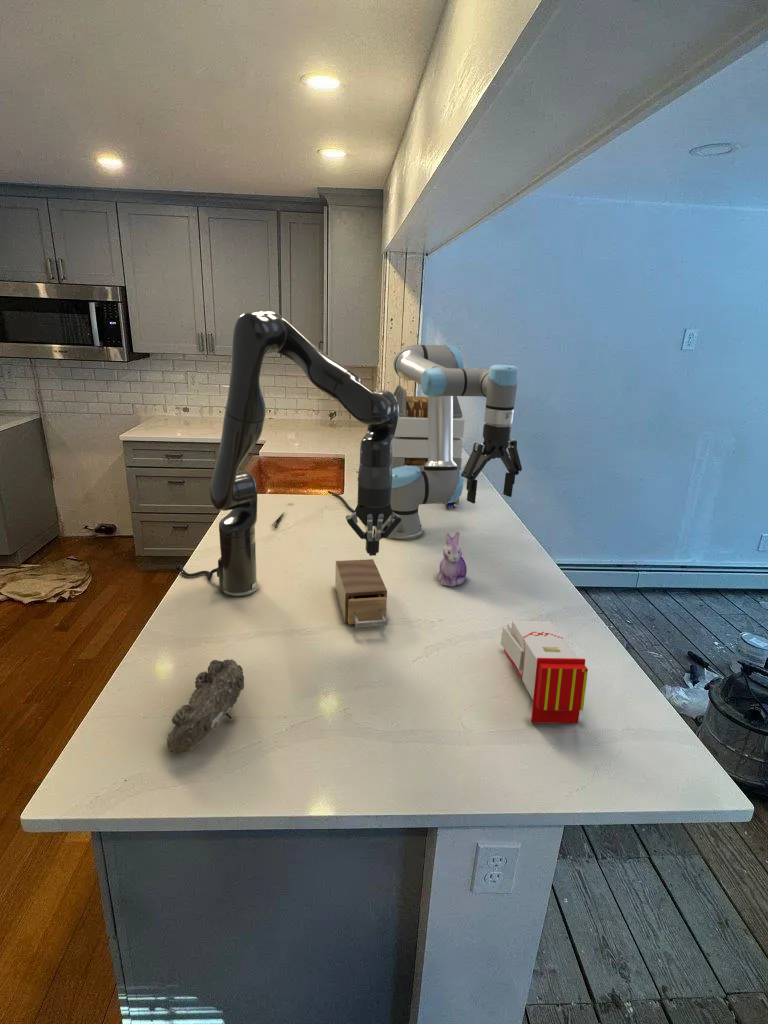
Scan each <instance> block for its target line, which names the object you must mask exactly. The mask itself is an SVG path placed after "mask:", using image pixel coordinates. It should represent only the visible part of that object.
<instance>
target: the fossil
mask: <svg viewBox="0 0 768 1024" xmlns="http://www.w3.org/2000/svg"><path fill="white" fill-rule="evenodd" d="M243 670H244V669H243V667H242V665H240V664H237V662H236V661H235V660H234V659H232V658H231V659H227V658H226V659H224V660H223V661H222V660H217V659H212V660H211V661H210V663H209V665H208V666H207V671H201V672H199V673H198V674H197V675H196V676H195V680H194V684H195V685H194V687H195V689H194V690H193V693H192V694H191V697H190V698H189V700H188V704H184V705H182V706H181V707H180V709H177V710H176V711H175V713H174V715H173V716H172V718H171V723H172V724H173V727H172V730H171V731H170V732H168V734H167V738H166V741H167V742H166V745H167V749H168V750H169V751H173V752H174V753H176V754H178V753H182V752H188V751H189V752H192V751H193V750H195V748H196V747H197V746H199V744H200V743H201V742H203V741H204V740H205V739H206V738H207V737H208V736H209V735H210V734H211V733H212V732H214V730H215V729H217V727H218V726H219V724H220V722H221V721H222V720H223V719H224V718H225V716H226V717H227V719H229V720H233V717H232V715H230V714H229V710H230V709H231V708H234V706H235V704H236V703H237V702H238V699H239V697H240V695H241V693H242V691H243V690H245V689H244V688H245V675H244V671H243Z"/></svg>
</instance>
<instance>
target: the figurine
mask: <svg viewBox="0 0 768 1024" xmlns="http://www.w3.org/2000/svg"><path fill="white" fill-rule="evenodd" d="M444 538H445V546H444V548H443V550H442V554H443V558H442V559H441V561H440V562H439V571H438V572H439V573H438V580H439V582H440V583H441V585H442V586H447V587H455V586H457V585H458V586H460V585H461V584H463V583H464V581H465V580H466V576H467V573H468V572H467V571H468V569H467V563H466V561H465V559H464V557H463V551H462V548H461V546H460V538H461V532H460V531H459V530H458V531H456V532H455V534H454V535H453V537H452V536H451V534H450V533H449V532H448V531H446V532H445V533H444Z"/></svg>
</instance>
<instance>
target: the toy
mask: <svg viewBox="0 0 768 1024" xmlns="http://www.w3.org/2000/svg"><path fill="white" fill-rule="evenodd" d="M500 645H501V646H502V648H503V652H504V654H505V655H506V657H507V658H508V660H509V661H510V663H511V664H512V666H513V668H514V669H515V671H516V672H517V674H518V676H519V677H520V679H521V680H522V683H523V685H524V686H525V688H526V690H527V692H528V694H529V696H530V697H531V699H532V708H531V719H530V722H531V723H532V724H579V719H580V712H583V711H584V706H585V697H586V689H587V680H588V671H589V669H588V667H587V666H586V659H585V658H580V657H579V656H578V655H577V654H576V652H575V651H574V650H573V648H572V647H571V646H570V645H569V644H568V642H567V641H566V640H565V638H564V637H563V636H562V634H561V633H560V632H559V631H558V630H557V628H556V627H555V626H554V624H553V623H552V622H551V621H549V620H548V621H545V620H540V621H539V620H511V622H508V623H507V626H502V632H501V638H500Z"/></svg>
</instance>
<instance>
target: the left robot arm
mask: <svg viewBox="0 0 768 1024" xmlns="http://www.w3.org/2000/svg"><path fill="white" fill-rule="evenodd" d="M231 351H232V352H231V369H230V378H229V385H228V393H227V399H226V404H225V410H224V415H223V422H222V429H221V430H222V431H221V432H222V433H221V437H220V442H219V448H218V453H217V456H216V461H215V465H214V468H213V472H212V476H211V479H210V484H209V497H210V498H209V499H210V502H211V505H212V506H213V507H214V508H215V510H218V511H222V512H223V511H224V512H225V511H229V513H228V514H227V515H226V516H223V518H221V519H220V520H219V523H218V531H219V547H220V548H219V549H220V557H219V558H218V559H217V567H216V568H213V569H211V570H210V571H209V570H201V571H196V572H193V573H192V572H191V573H189V572H186V571H185V569H184V567H183V565H177V566H176V568H175V569H176V570H177V571H178V570H180V573H181V574H182V575H183V576H184V577H188V578H193V577H197V576H200V575H201V576H202V575H207V576H206V577H207V579H208V580H210V579H212V578H213V574H214V573H216V577H217V578H218V585H219V592H220V593H223V594H225V595H227V596H230V597H246V596H248V595H251V594H254V593H255V592H256V591H257V590H258V577H257V576H258V574H257V572H258V571H257V548H256V547H257V546H256V523H257V521H258V486H257V483H256V480H255V478H254V476H253V474H252V473H250V472H249V471H247V470H239V469H240V466H241V465H242V463H243V461H244V460H245V459H246V458H247V456H248V455H249V453H250V452H252V450H253V448H254V447H255V446H256V445H257V443H258V441H259V440H260V438H261V437H262V436H261V435H262V433H263V429H264V423H265V419H266V413H267V412H266V411H267V410H266V409H267V407H266V402H265V398H264V395H263V392H262V389H261V383H260V379H261V378H260V377H261V371H262V365H263V362H264V358H265V356H266V355H269V354H273V353H276V354H279V355H281V356H283V357H285V358H287V359H289V360H291V361H292V362H293V363H295V364H296V365H297V366H298V367H299V368H300V369H301V371H303V373H304V375H305V376H306V377H307V379H308V380H309V381H310V383H311V384H312V385H313V386H315V387H316V388H317V389H318V390H320V392H322V393H324V394H325V395H327V396H328V397H330V398H332V399H333V400H334V401H336V402H337V403H340V405H341V406H342V407H343V408H344V410H346V412H348V413H349V414H350V415H351V416H352V418H354V419H355V420H356V421H358V422H359V423H361V424H362V425H364V426H367V429H366V433H365V435H364V436H363V437H362V438H361V440H360V445H359V447H360V448H359V466H358V471H357V472H358V473H357V504H356V507H355V508H354V511H355V512H354V513H353V512H352V514H350V515H349V514H348V515H346V516H345V520H346V522H347V524H348V526H349V527H350V528H351V529H352V531H354V532H355V534H357V536H358V538H359V539H360V540H364V541H365V552H366V553H367V554H368V556H369V557H371V556H372V557H373V556H377V554H378V553H379V552H380V541H381V540H382V539H388V538H387V537H388V536H389V535H390V533H391V532H392V531H393V530H394V529H395V527H396V526H397V525H398V524H399V523H400V522H401V518H400V516H399V515H398V514H395V513H394V512H393V509H392V507H391V492H392V444H393V439H394V436H395V431H396V427H397V422H398V416H399V406H398V401H397V399H396V397H395V396H394V395H393V394H394V393H393V392H392V391H389V390H387V389H381V390H380V389H379V390H376V391H372V390H370V389H368V388H367V387H366V386H365V385H363V384H362V383H363V382H362V379H361V377H359V375H358V374H356V373H355V372H353V371H352V370H351V369H349V368H347V367H346V366H344V365H343V364H342V363H340V362H339V361H337V360H335V359H334V358H333V357H331V356H329V355H328V354H327V353H325V352H324V351H322V350H321V349H319V348H318V347H317V346H316V345H314V343H312V342H311V341H310V340H309V339H308V338H307V337H306V336H304V335H303V334H302V333H301V332H300V331H299V330H297V328H295V326H294V325H292V324H291V323H290V322H289V321H288V320H287V319H285V318H284V317H283V316H282V315H281V314H280V313H278V312H277V311H275V310H271V309H261V310H254V311H248V312H244V313H242V314H241V315H240V316H239V317H238V318H237V320H236V322H235V324H234V327H233V334H232V350H231ZM389 517H390V518H389ZM388 518H389V520H390V521H389V522H388V523H387V524H386V525H385V527H384V528H383V529H382V525H383V524H384V523H385V522H386V521H387V519H388ZM358 519H359V521H360V522H361V523H362V524H363V525H364V528H365V529H364V530H365V531H363V529H362V528H361V527H360V526H359V525H358ZM183 569H184V570H183ZM182 571H183V572H182Z"/></svg>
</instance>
